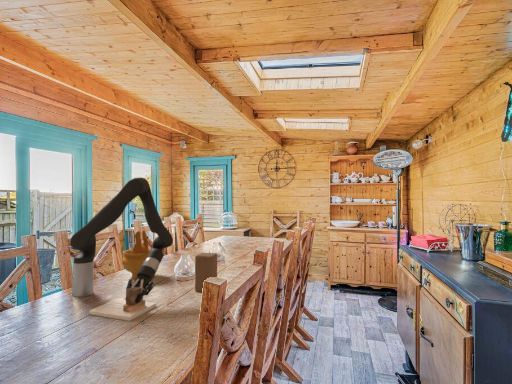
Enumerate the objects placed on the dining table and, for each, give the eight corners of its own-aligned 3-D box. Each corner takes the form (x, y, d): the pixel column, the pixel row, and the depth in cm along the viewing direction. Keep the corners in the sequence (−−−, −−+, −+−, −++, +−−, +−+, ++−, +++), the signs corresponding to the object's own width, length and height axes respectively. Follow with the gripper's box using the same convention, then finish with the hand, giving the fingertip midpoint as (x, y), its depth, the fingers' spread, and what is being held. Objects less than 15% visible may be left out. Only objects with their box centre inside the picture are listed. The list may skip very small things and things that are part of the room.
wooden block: (211, 293, 165) (211, 256, 165) (194, 292, 167) (194, 255, 167) (217, 287, 175) (217, 252, 175) (201, 286, 177) (201, 252, 177)
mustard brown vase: (138, 272, 209) (138, 228, 210) (163, 275, 202) (164, 229, 202) (114, 280, 190) (114, 231, 190) (140, 283, 182) (141, 233, 182)
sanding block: (123, 311, 135) (123, 290, 135) (137, 304, 144) (137, 285, 144) (131, 312, 134) (132, 291, 134) (145, 305, 143) (145, 286, 143)
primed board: (89, 314, 136) (89, 310, 136) (118, 300, 153) (118, 297, 153) (129, 320, 129) (129, 317, 129) (156, 306, 146) (156, 302, 146)
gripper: (133, 263, 148) (114, 296, 137) (158, 265, 144) (140, 300, 132) (140, 271, 153) (122, 304, 142) (164, 274, 149) (148, 307, 137)
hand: (131, 302), depth 137 cm, fingers closed on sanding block, 4 cm apart
